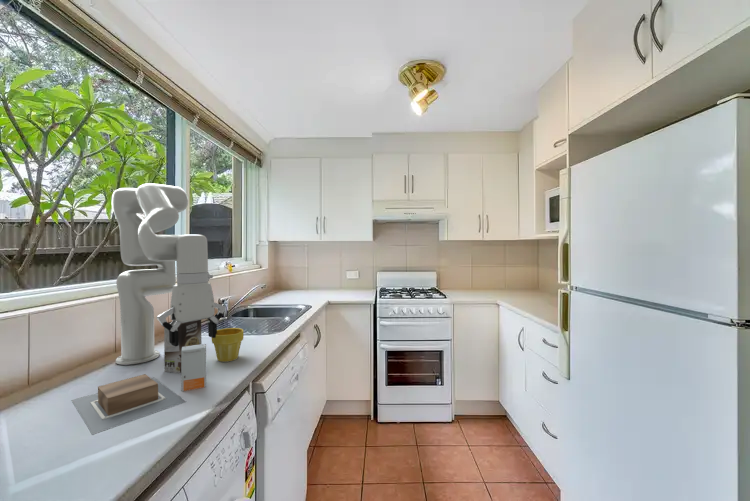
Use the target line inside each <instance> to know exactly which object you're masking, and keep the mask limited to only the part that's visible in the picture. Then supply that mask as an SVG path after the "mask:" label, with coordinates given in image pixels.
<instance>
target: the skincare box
mask: <svg viewBox="0 0 750 501" xmlns="http://www.w3.org/2000/svg"><path fill="white" fill-rule="evenodd" d="M180 378H181V380H180V382H181V383H180V384H181V385H180V386H181V388H180V389H181V390H180V391H181V392H186V391H191V390H197V389H203V388H207V344H206V343H202V344H200V345H192V346H185V347H182V351H181V373H180Z"/></svg>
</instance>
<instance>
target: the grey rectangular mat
mask: <svg viewBox="0 0 750 501" xmlns="http://www.w3.org/2000/svg"><path fill="white" fill-rule="evenodd" d="M150 378H151V379H152V380H154V381H155V382H156V383H158V400H155V401H152V402H149V403H146V404H142V405H139V406H136V407H133V408H130V409H127V410H124V411H121V412H118V413H115V414H112V415H109V416H108V415H107V413H106V412H105V411H104V409H103V408H102V407H101V406H100V404H99V403H98V392H95V393H92V394H89V395H85V396H82V397H77V398H74V399H72V400H70V401H71V402H72V404H73V405H74V408H76V411H77V412H78V414H79V416H80V417H81V419H82V420H83V423H84V424H85V425H86V427H87V428H88V430H89V432H90V434H91V435H93V436H94V435H96V434H99V433H102V432H105V431H108V430H110V429H113V428H116V427H118V426H121V425H124V424H127V423H130V422H133V421H135V420H138V419H141V418H145V417H147V416H151V415H154V414H156V413H159V412H162V411H164V410H167V409H170V408H172V407H176V406H179V405H182V404H184V403H186V402H187V400H185V399H183V398H182V397H181V396H180V395H178V394H177V393H175V391H173V390H171V389H170V388H169V387H167V386H166V385H165V384H164V383H162V382H160V381H159V380H158V379H157V378H155V377H153V376H152V377H150Z"/></svg>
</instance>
